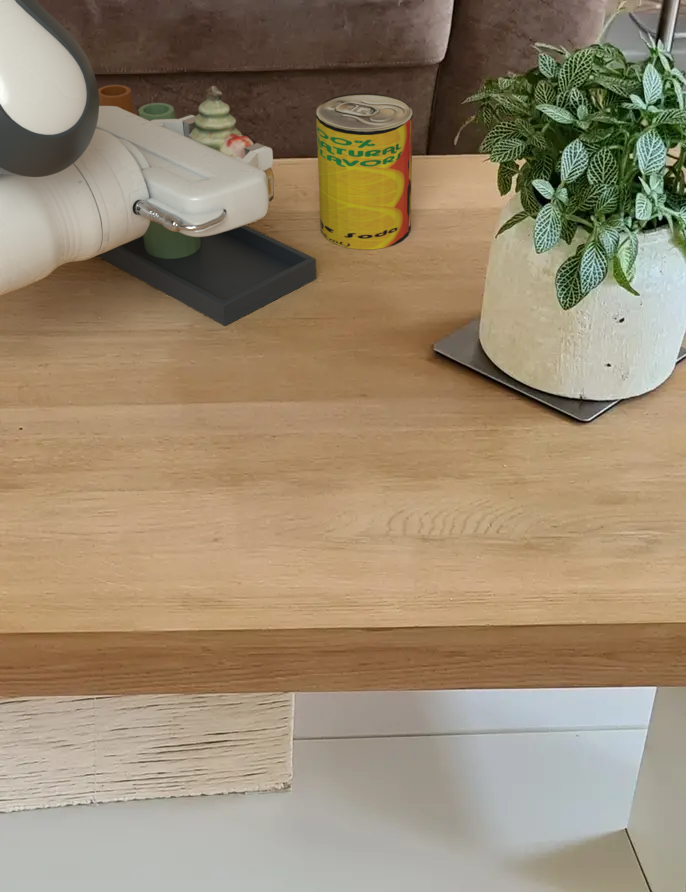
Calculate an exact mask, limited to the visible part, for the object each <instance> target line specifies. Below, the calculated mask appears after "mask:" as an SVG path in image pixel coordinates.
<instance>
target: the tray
mask: <svg viewBox="0 0 686 892" xmlns="http://www.w3.org/2000/svg"><path fill="white" fill-rule="evenodd" d="M97 257H99V258H100V259H102V260H104V261H106V262H108V263H109V264H111V265H113V266H115V267H116V268H118V269H120V270H122V271H124V272H126V273H127V274H130V275H131V276H133V277H135V278H136V279H138V280H140V281H142V282H143V283H146V284H148V285H149V286H151V287H152V288H154V289H157V290H158V291H160V292H162V293H164V294H165V295H167V296H170V297H171V298H173V299H174V300H176V301H178V302H180V303H182V304H183V305H186V306H188V307H189V308H191V309H193V310H195V311H197V312H198V313H200V314H202V315H204V316H206V317H208V319H209V318H210V319H211V320H213V321H214V322H217V323H218V324H220V325H222V326H224V327H227V326H228V325H230V324H232V323H234V322H237V321H238V320H239V319H242V318H244V317H246V316H247V315H249V314H251V313H253V312H256V311H258V310H259V309H261V308H264V307H265V306H267V305H268V304H271V303H272V302H274V301H276V300H278V299H281V298H282V297H284V296H286V295H288V294H290V293H292V292H294V291H296V290H298V289H300V288H302V287H304V286H305V285H307V284H309V283H310V282H313V281H315V280H317V259H316V258H315V257H313V256H311V255H308V254H307V253H304V252H302V251H300V250H299V249H297V248H294V247H292V246H290V245H288V244H285V243H284V242H281V241H280V240H278V239H275V238H273V237H271V236H269V235H267V234H265V233H263V232H261V231H258V230H256V229H255V228H252V227H250V226H248V225H247V224H246V225H244V226H241V227H238V228H235V229H232V230H229V231H225V232H222V233H219V234H215V235H211V236H205V237H201V247H200V248H199V249H198V250H197V251H196V252H195V253H193V254H191V255H189V256H186V257H181V258H176V259H164V258H159V257H154V256H153V255H151V254H149V253H147V251H146V249H145V246H144V239H143V236H141V237H139V238H137V239H135V240H132V241H130V242H128V243H125V244H123V245H121V246H118V247H116V248H114V249H111V250H109V251H107V252H104V253H102V254H100V255H97Z"/></svg>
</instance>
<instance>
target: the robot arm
mask: <svg viewBox="0 0 686 892" xmlns="http://www.w3.org/2000/svg"><path fill="white" fill-rule="evenodd" d="M97 82H98V81H97V78H96V75H95V72H94V69H93V66H92V65H91V61H90V60H89V58H88V56H87V54H86V53H85V51H84V50H83V48H82V47H81V45H80V44H79V43H78V41H77V40H76V38H75V37H74V36H73V35H72V34H71V33H70V32H69V31H68V30H67V29H66V28H65V27H64V26H63V25H62V24H61V23H60V22H59V21H58V20H57V19H56V18H55V17H54V16H53V15H51V13H49V12H48V11H47V9H45V7H44V6H42V5H41V3H39V2H38V1H37V0H0V296H2V295H5V294H8V293H10V292H13V291H16V290H19V289H21V288H24V287H27V286H29V285H32V284H33V283H37V282H39V281H40V280H43V279H45V278H47V277H48V276H49V275H51V274H52V273H53V272H54V271H55V270H56V269H58V268H59V267H61V266H62V265H64V264H67V263H72V262H81V261H82V262H83V261H87V260H90V259H92V258H95V257H96V256H97V255H100V254H102V253H104V252H107V251H109V250H111V249H114V248H116V247H118V246H121V245H123V244H125V243H128V242H130V241H132V240H135V239H137V238H139V237H141V236H142V235H144V234H145V232H146V231H147V229H148V227H149V224H150V221H153V222H156V223H159V224H161V225H162V226H163V227H164V228H166V229H168V230H170V231H174V232H180V233H182V234H185V235H188V236H192V237H205V236H211V235H215V234H219V233H222V232H225V231H229V230H232V229H235V228H238V227H241V226H244V225H246V226H247V225H249V224H253V223H254V222H257V221H259V220H261V219H263V218H264V217H266V215H267V214H268V212H269V211H268V210H269V208H270V206H269V205H270V202H269V191H268V180H267V175H266V173H265V172H264V170H266V169H269V168H270V167H271V168H272V167H273V164H274V151H273V149H272V148H271V147H269V146H267V145H265V144H261V143H259V142H256V143H253V144H254V145H250V146H248V147H245V148H244V149H245V157H244V158H243V159H242V158H240V157H235V158H233V157H231V156H228V155H226V154H224V153H222V152H219V151H217V150H215V149H212V148H210V147H208V146H206V145H203V144H201V143H199V142H196V141H194V140H192V139H191V138H190V134H191V132H192V131H193V129H195V128H196V125H195V123H194V121H195V117H196V116H197V115H193V114H189V115H186V116H183V117H180V118H175V119H157V120H151V121H149V120H146V119H144V118H142V117H139V116H137V115H135V114H133V113H130V112H128V111H126V110H123V109H121V108H119V107H116V106H99V93H98V89H99V87H98V83H97ZM97 257H98V256H97Z"/></svg>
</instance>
